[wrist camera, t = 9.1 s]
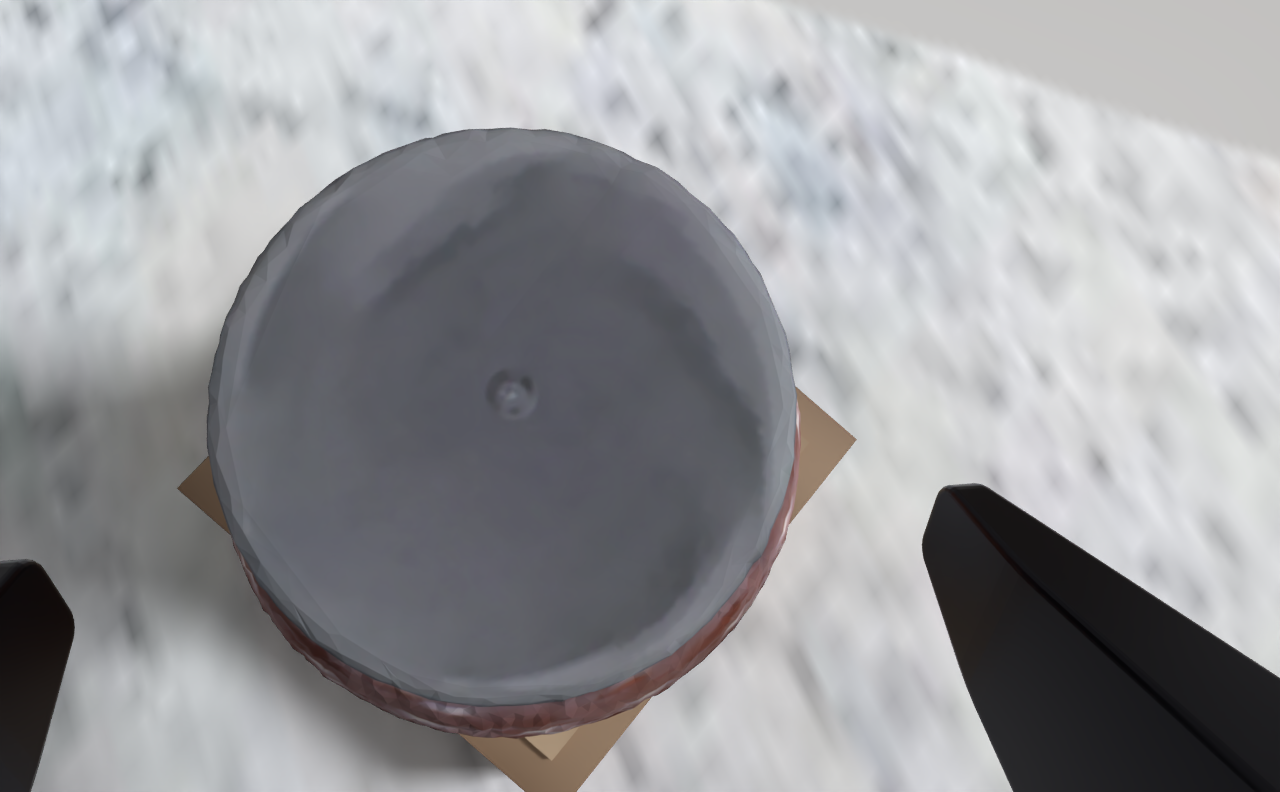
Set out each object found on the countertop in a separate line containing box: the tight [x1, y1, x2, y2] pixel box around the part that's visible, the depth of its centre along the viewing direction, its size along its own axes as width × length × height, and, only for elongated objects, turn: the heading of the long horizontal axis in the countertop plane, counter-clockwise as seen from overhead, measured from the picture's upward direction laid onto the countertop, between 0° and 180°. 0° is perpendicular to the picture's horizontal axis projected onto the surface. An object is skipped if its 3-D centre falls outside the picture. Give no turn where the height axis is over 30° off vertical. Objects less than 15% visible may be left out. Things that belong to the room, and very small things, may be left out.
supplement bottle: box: [207, 128, 801, 739], centre depth 11 cm, size 6×6×11 cm
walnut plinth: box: [177, 386, 857, 792], centre depth 18 cm, size 10×10×3 cm
